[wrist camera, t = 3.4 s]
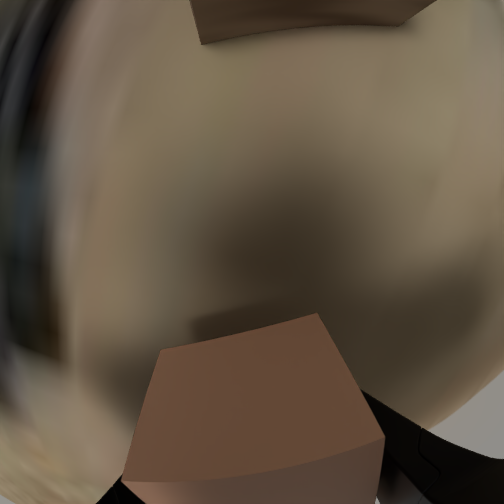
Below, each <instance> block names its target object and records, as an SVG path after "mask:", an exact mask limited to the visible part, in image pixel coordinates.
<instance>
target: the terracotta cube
mask: <svg viewBox="0 0 504 504" xmlns="http://www.w3.org/2000/svg"><path fill="white" fill-rule="evenodd" d="M384 443H385V435H384V434H383V432H382V430H381V428H380V426H379V424H378V422H377V420H376V418H375V417H374V415H373V413H372V411H371V409H370V407H369V405H368V404H367V402H366V400H365V398H364V396H363V394H362V392H361V391H360V389H359V387H358V385H357V383H356V381H355V380H354V378H353V376H352V374H351V372H350V370H349V369H348V367H347V365H346V363H345V361H344V360H343V358H342V356H341V354H340V352H339V351H338V349H337V347H336V345H335V344H334V342H333V340H332V338H331V336H330V335H329V333H328V331H327V329H326V328H325V326H324V324H323V322H322V321H321V319H320V317H319V315H318V313H314V314H311V315H307V316H304V317H300V318H297V319H293V320H289V321H286V322H282V323H278V324H274V325H270V326H266V327H262V328H258V329H254V330H250V331H246V332H242V333H238V334H234V335H229V336H225V337H221V338H216V339H211V340H207V341H202V342H197V343H193V344H188V345H183V346H178V347H173V348H167V349H162V350H160V353H159V356H158V359H157V362H156V365H155V368H154V371H153V374H152V377H151V380H150V383H149V387H148V390H147V393H146V396H145V399H144V402H143V406H142V409H141V412H140V415H139V419H138V422H137V425H136V429H135V432H134V436H133V439H132V443H131V446H130V450H129V453H128V457H127V460H126V464H125V468H124V471H123V475H122V479H121V481H122V482H123V483H124V484H125V485H126V486H127V487H128V488H129V489H130V490H131V491H132V492H133V493H134V494H136V495H137V496H138V497H139V498H140V499H141V500H142V501H143V502H145V503H146V504H375V500H376V495H377V490H378V484H379V479H380V472H381V466H382V459H383V451H384Z"/></svg>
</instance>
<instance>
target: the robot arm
mask: <svg viewBox="0 0 504 504" xmlns="http://www.w3.org/2000/svg"><path fill="white" fill-rule="evenodd" d="M359 389H360V388H359ZM360 391H361V392H362V394H363V396H364V398H365V400H366V402H367V404H368V405H369V407H370V409H371V411H372V413H373V415H374V417H375V418H376V420H377V422H378V424H379V426H380V428H381V430H382V432H383V434H384V435H385V443H384V451H383V459H382V466H381V472H380V479H379V484H378V490H377V495H376V496H377V498H378V500H379V502H380V504H504V459H496V458H490V457H487V456H484V455H481V454H479V453H476V452H473V451H471V450H468V449H465V448H462V447H460V446H458V445H455V444H453V443H451V442H448V441H446V440H444V439H442V438H440V437H438V436H436V435H434V434H432V433H431V432H429V431H427V430H426V429H424V428H422V429H421V427H420V426H419V425H417V424H415V423H414V422H412V421H410V420H409V419H407V418H406V417H404V416H402V415H401V414H399V413H397V412H396V411H394V410H393V409H391V408H389V407H388V406H386V405H385V404H383V403H381V402H380V401H378V400H377V399H375V398H374V397H372V396H370V395H369V394H367V393H366V392H364V391H363V390H361V389H360ZM122 475H123V474H122ZM122 475H121V476H120V477H119V479H118V480H117V481H116V482H115V483H114V484H113V487H111V488H110V489H109V490H108V491H107V492H106V493H105V495H104V496H103V497H102V498H101V499H100V500H99V501H98V502H97V503H96V504H146V503H145V502H143V501H142V500H141V499H140V498H139V497H138V496H137V495H136V494H134V493H133V492H132V491H131V490H130V489H129V488H128V487H127V486H126V485H125V484H124V483H123V482H122V481H121V479H122Z"/></svg>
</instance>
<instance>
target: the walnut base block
mask: <svg viewBox="0 0 504 504" xmlns="http://www.w3.org/2000/svg"><path fill="white" fill-rule="evenodd" d="M189 1H190V5H191V8H192V12H193V16H194V19H195V23H196V27H197V30H198V34H199V38H200V41H201V45H203V44H207V43H211V42H216V41H220V40H224V39H229V38H234V37H239V36H244V35H249V34H255V33H261V32H268V31H275V30H283V29H292V28H302V27H314V26H332V25H378V26H396V27H398V26H400V25H401V24H403V23H404V22H405V21H407V20H408V19H410V18H411V17H413V16H414V15H415V14H417V13H418V12H420V11H421V10H423V9H424V8H426V7H427V6H429V5H430V4H432V3H433V2H435V1H436V0H189Z"/></svg>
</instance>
